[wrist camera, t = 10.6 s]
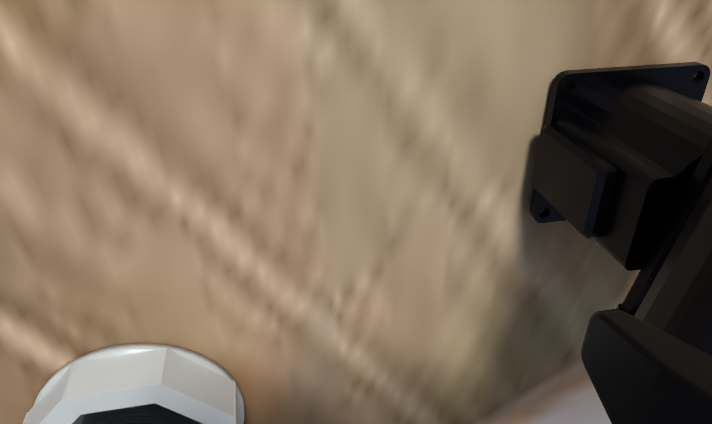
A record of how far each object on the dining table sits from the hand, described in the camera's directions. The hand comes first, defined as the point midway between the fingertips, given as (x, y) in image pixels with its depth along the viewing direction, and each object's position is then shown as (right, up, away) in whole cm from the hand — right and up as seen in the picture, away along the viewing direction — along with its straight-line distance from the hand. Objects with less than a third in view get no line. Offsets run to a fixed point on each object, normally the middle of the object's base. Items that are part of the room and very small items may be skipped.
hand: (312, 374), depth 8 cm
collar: (-9, -7, +18) cm, 21 cm away
